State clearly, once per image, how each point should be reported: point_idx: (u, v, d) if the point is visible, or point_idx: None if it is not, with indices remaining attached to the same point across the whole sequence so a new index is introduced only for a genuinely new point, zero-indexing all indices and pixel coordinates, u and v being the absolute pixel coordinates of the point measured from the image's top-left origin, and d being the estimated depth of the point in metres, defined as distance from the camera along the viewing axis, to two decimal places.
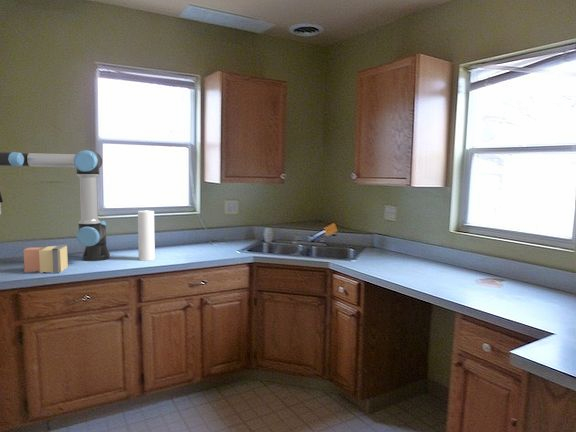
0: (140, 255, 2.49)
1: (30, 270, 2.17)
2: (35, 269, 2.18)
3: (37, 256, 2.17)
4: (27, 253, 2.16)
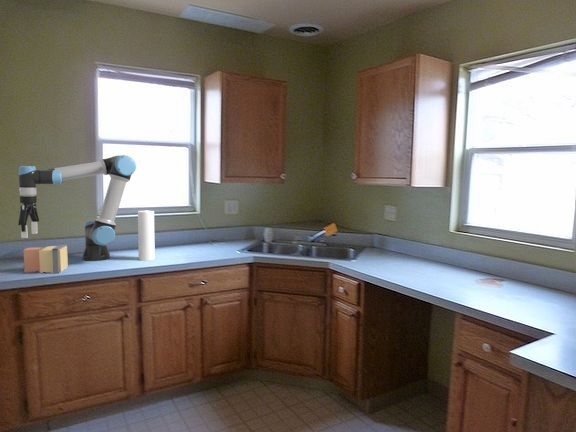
0: (140, 255, 2.49)
1: (30, 270, 2.17)
2: (35, 269, 2.18)
3: (37, 256, 2.17)
4: (27, 253, 2.16)
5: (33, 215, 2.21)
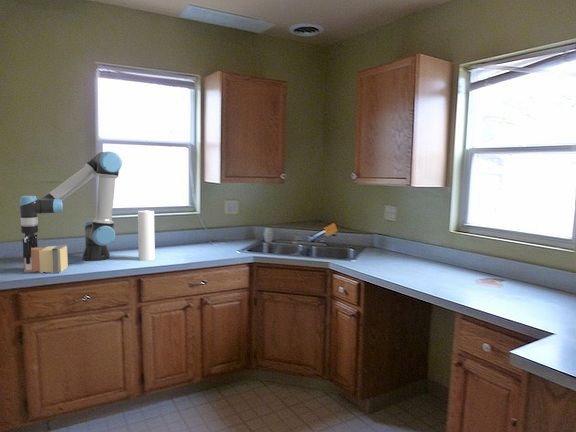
0: (140, 255, 2.49)
1: (30, 270, 2.17)
2: (35, 269, 2.18)
3: (37, 256, 2.17)
4: None
5: (33, 246, 2.21)
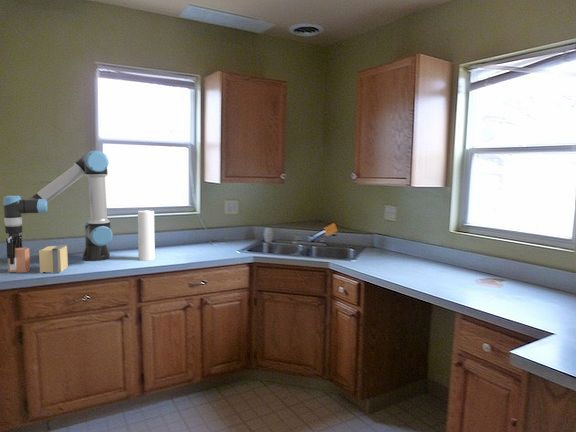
0: (140, 255, 2.49)
1: (14, 270, 2.15)
2: (20, 269, 2.16)
3: (21, 256, 2.15)
4: None
5: (17, 246, 2.19)
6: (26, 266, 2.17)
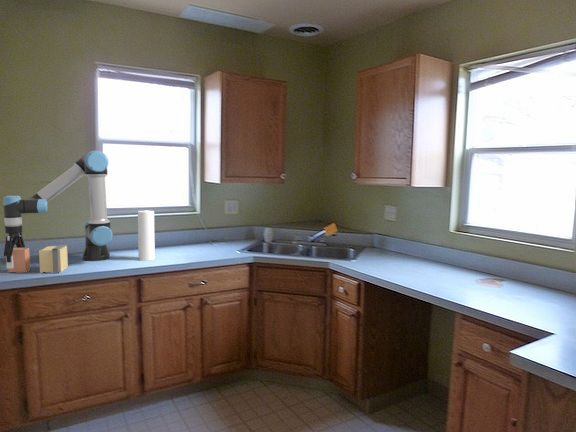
0: (140, 255, 2.49)
1: (14, 270, 2.15)
2: (20, 269, 2.16)
3: (21, 256, 2.15)
4: None
5: (19, 244, 2.21)
6: (26, 266, 2.17)
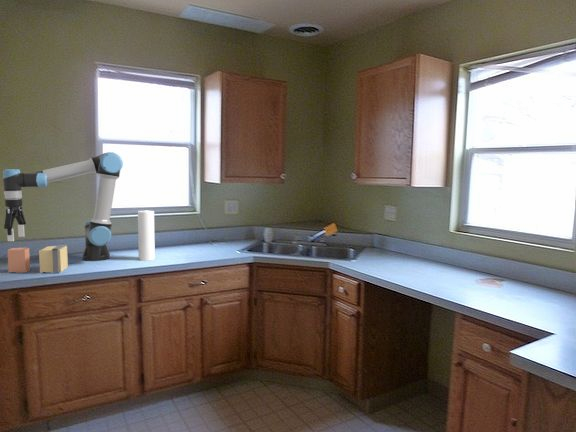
0: (140, 255, 2.49)
1: (14, 270, 2.15)
2: (20, 269, 2.16)
3: (21, 256, 2.15)
4: (11, 253, 2.14)
5: (19, 218, 2.21)
6: (26, 266, 2.17)
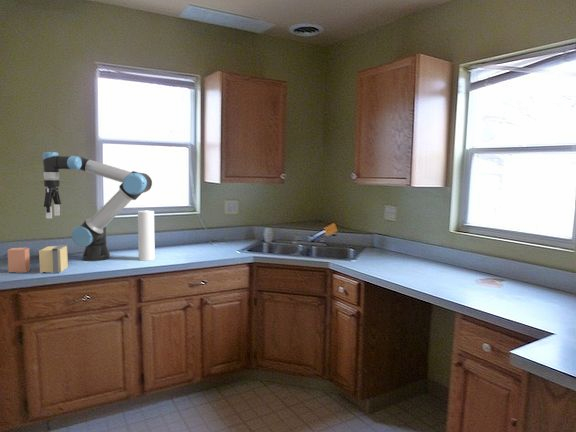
0: (140, 255, 2.49)
1: (14, 270, 2.15)
2: (20, 269, 2.16)
3: (21, 256, 2.15)
4: (11, 253, 2.14)
5: (56, 198, 2.39)
6: (26, 266, 2.17)
